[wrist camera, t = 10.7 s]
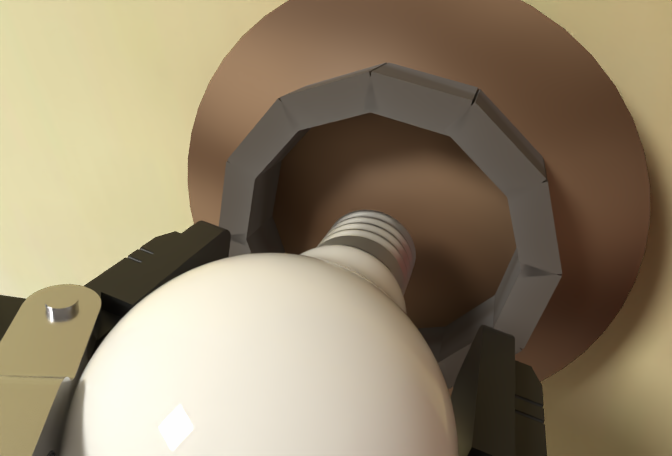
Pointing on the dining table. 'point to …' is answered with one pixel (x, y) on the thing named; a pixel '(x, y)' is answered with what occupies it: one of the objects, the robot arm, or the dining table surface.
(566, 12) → the dining table surface
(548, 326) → the lamp base
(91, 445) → the lightbulb
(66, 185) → the dining table surface
